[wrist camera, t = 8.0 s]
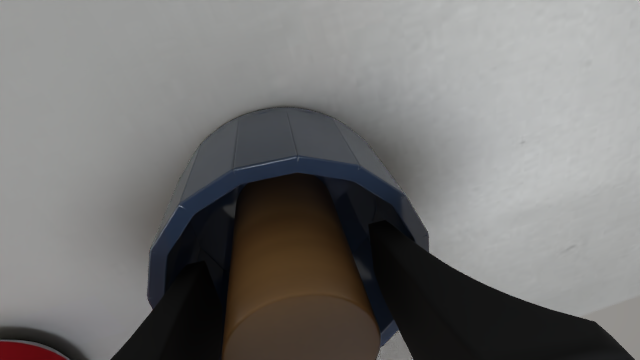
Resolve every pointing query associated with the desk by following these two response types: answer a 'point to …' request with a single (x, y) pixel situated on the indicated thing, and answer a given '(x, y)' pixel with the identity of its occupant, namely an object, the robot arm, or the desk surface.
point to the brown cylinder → (294, 278)
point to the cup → (268, 162)
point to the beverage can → (28, 351)
